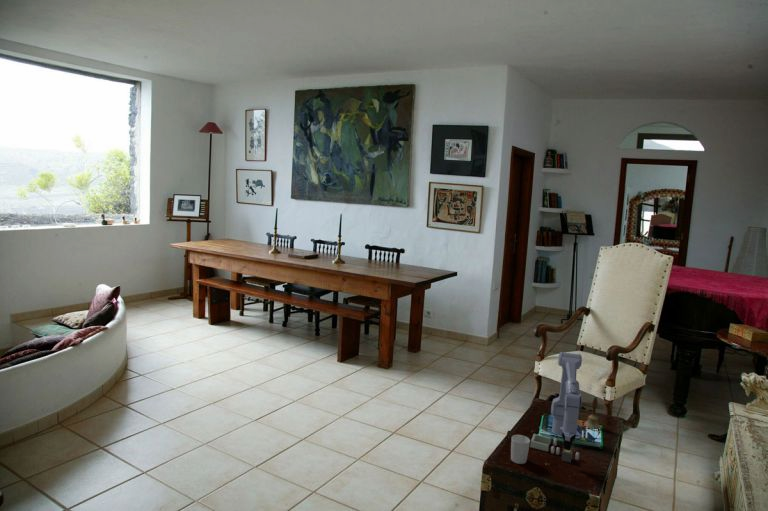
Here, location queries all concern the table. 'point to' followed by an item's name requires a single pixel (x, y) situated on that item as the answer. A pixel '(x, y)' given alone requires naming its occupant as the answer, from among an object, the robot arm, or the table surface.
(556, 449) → the clip
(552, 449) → the clip
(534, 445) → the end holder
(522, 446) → the white cup
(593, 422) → the hand bell
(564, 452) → the connector block
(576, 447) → the table surface
